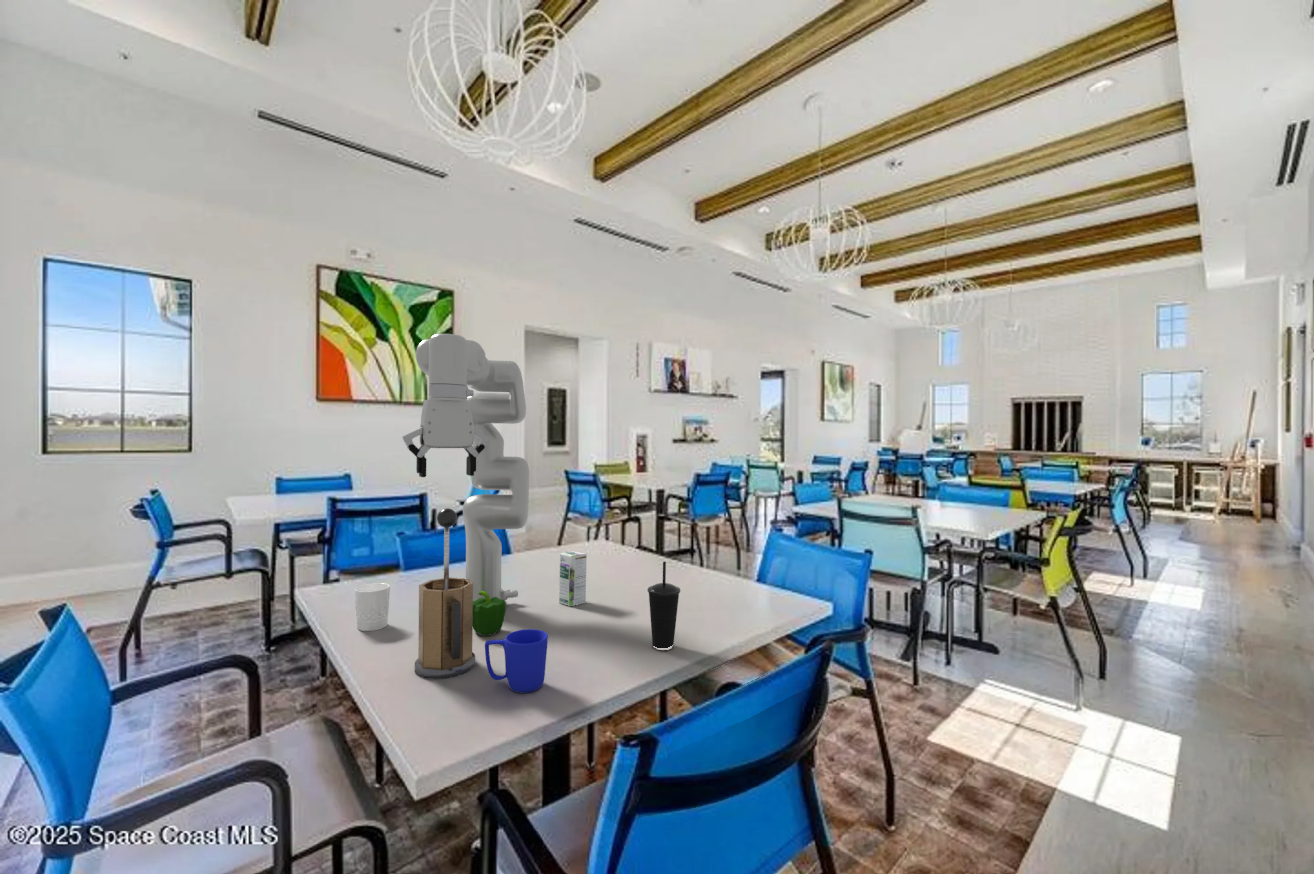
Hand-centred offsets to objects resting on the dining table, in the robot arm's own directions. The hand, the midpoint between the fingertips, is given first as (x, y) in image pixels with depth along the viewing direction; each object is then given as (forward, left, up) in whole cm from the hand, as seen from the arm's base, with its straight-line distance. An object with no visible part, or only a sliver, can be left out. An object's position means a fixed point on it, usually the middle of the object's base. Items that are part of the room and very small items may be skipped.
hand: (446, 476), depth 119 cm
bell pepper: (-14, -15, -41) cm, 46 cm away
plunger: (0, 0, -25) cm, 25 cm away
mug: (-9, +17, -41) cm, 45 cm away
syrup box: (-42, -25, -41) cm, 64 cm away
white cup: (+9, -34, -41) cm, 54 cm away
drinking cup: (-45, +16, -41) cm, 63 cm away
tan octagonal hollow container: (0, +1, -40) cm, 40 cm away
